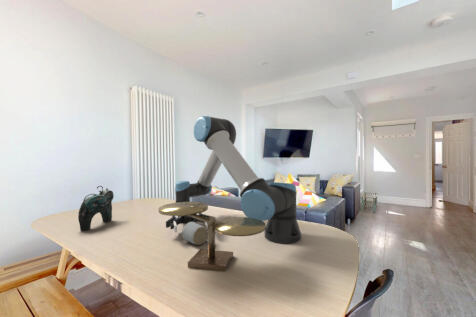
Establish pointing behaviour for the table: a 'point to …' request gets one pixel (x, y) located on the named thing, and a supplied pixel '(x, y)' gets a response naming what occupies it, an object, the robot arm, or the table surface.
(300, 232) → the robot arm
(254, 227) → the balance
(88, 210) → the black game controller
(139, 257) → the table surface
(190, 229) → the ceramic mug
